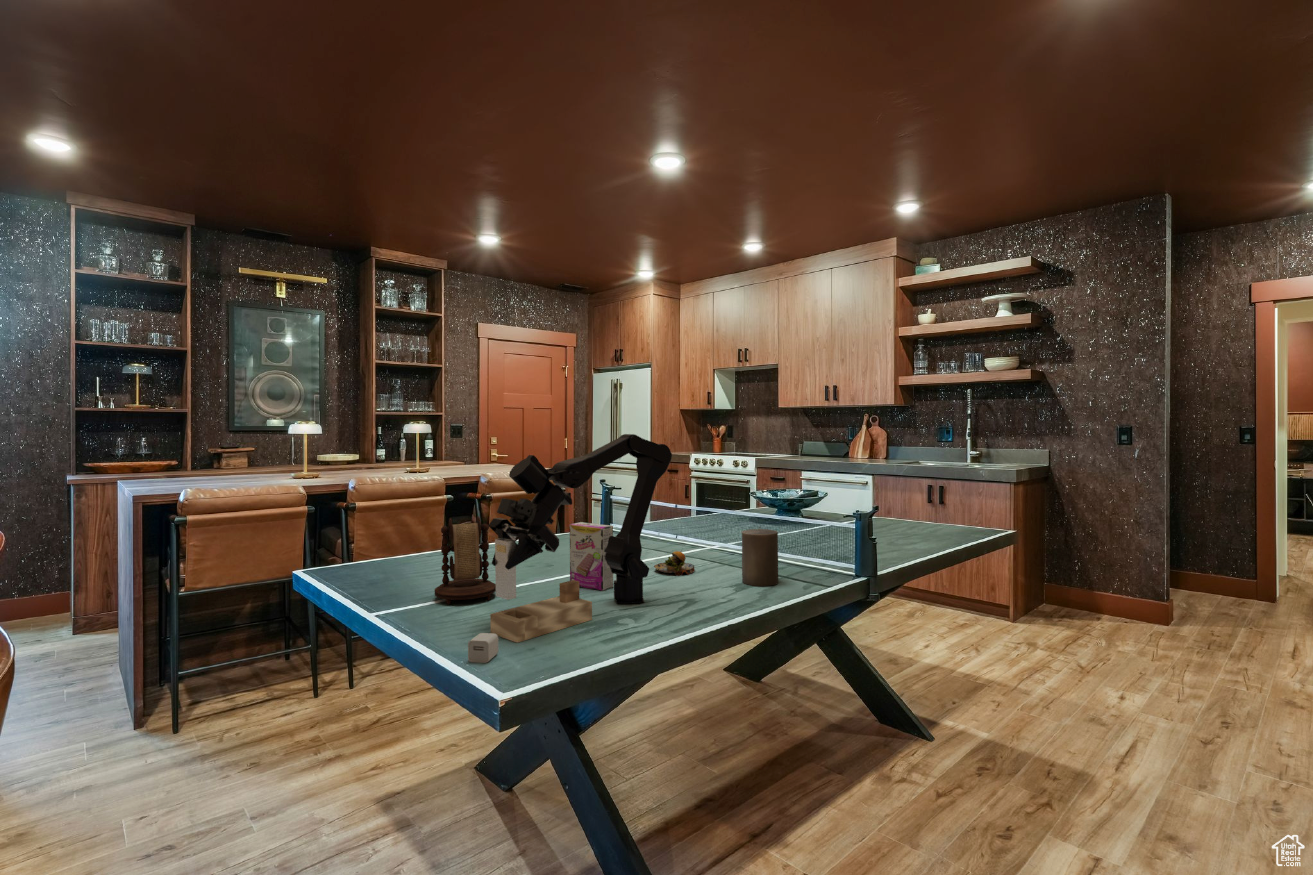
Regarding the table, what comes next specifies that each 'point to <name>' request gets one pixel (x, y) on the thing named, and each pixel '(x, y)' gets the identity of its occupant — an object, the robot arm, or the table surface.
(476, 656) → the usb wall charger
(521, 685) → the table surface
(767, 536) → the pillar candle
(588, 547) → the candy bar box
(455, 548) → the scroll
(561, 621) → the hand plane
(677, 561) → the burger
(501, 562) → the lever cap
